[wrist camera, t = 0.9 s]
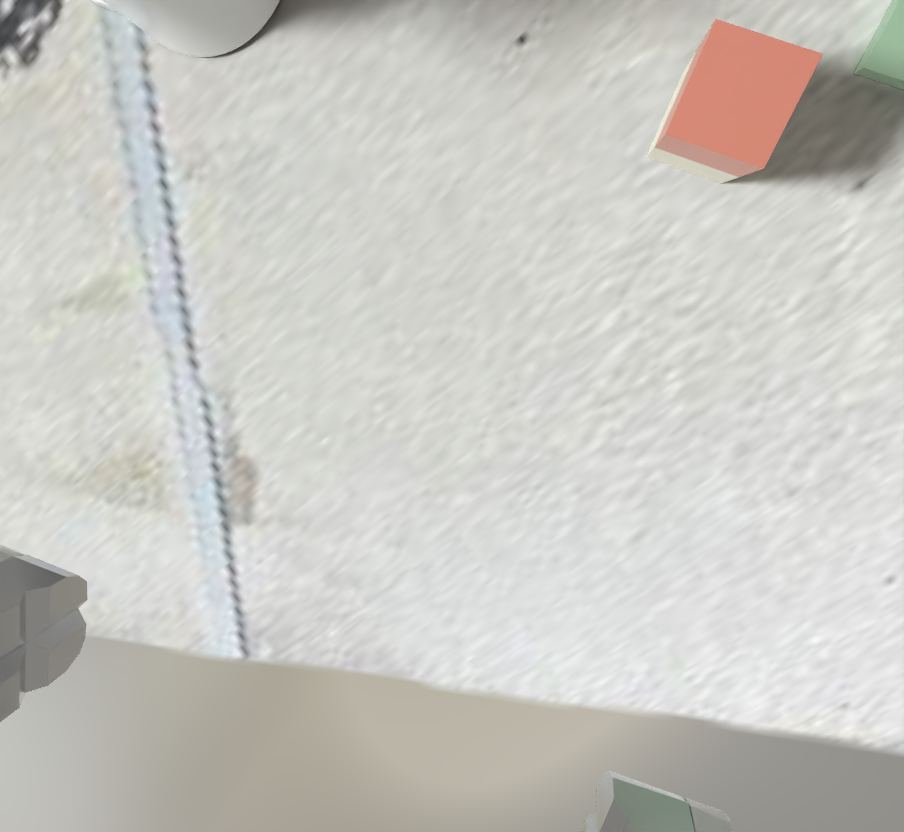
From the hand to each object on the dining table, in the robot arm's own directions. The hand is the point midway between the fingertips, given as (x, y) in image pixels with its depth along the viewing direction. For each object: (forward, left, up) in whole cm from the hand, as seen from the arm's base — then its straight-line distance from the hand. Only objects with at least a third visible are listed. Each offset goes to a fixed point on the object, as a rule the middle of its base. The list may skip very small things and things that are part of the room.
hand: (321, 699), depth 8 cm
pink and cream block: (-9, +13, -34) cm, 37 cm away
